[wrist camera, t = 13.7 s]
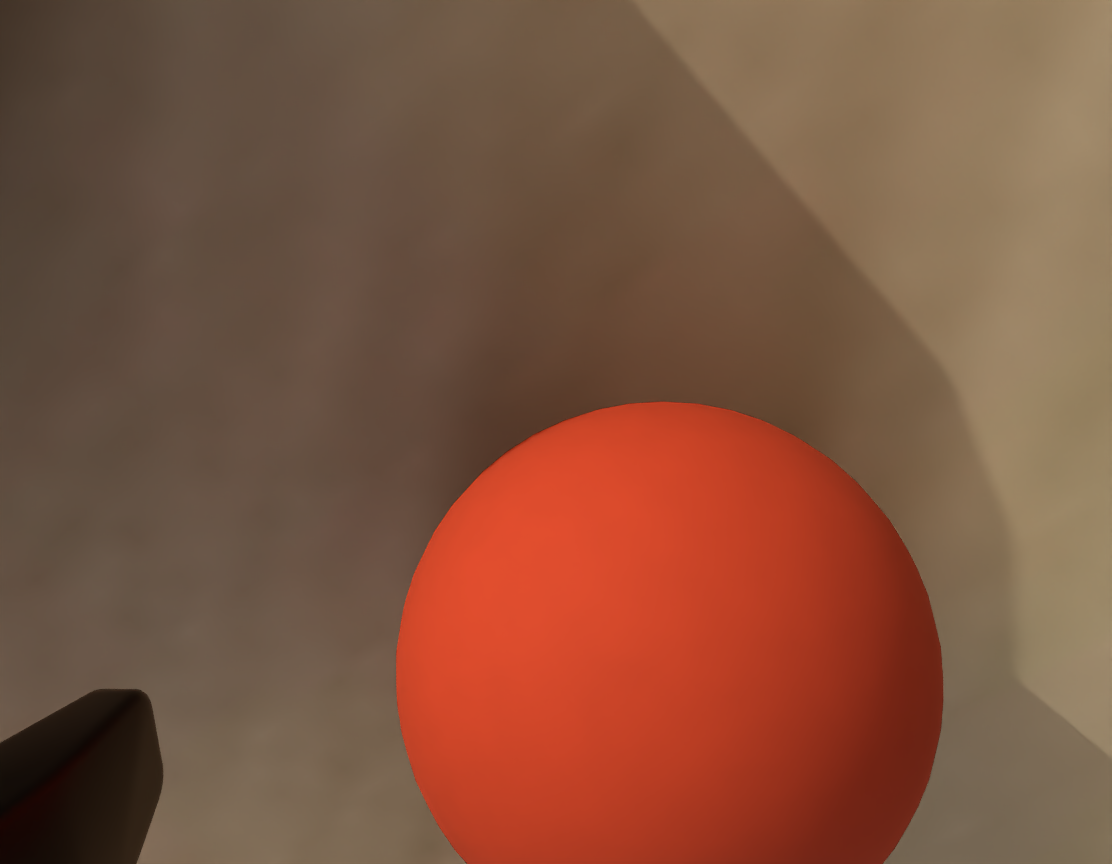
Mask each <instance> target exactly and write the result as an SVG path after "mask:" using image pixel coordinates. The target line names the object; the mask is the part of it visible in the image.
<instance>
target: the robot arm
mask: <svg viewBox="0 0 1112 864" xmlns="http://www.w3.org/2000/svg"><path fill="white" fill-rule="evenodd" d="M162 784H163V763H162V758H161V752H160V747H159V741H158V736H157V731H156V725H155V720H154V714H153V709H152V705H151V702H150V699H149V697H148V695H147V694H146V693H144V692H143V691H141V690H139V689H99V690H94V691H92V692H90V693H88V694H87V695H85V696H83V697H81V698H79V699H78V700H76V701H74V702H72V703H71V704H69V705H67V706H65V707H63V708H62V709H60V710H58V711H56V712H54V713H53V714H51V715H49V716H47V717H46V718H44V719H42V720H40V721H38V722H37V723H35V724H33V725H31V726H29V727H28V728H26V729H24V730H22V731H21V732H19V733H17V734H15V735H13V736H12V737H10V738H8V739H6V740H4V741H3V742H1V743H0V864H137V861H138V858H139V855H140V852H141V849H142V846H143V843H144V841H145V838H146V835H147V832H148V829H149V826H150V823H151V821H152V818H153V815H154V812H155V809H156V806H157V803H158V801H159V797H160V794H161V790H162Z"/></svg>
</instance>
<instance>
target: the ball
mask: <svg viewBox="0 0 1112 864" xmlns="http://www.w3.org/2000/svg"><path fill="white" fill-rule="evenodd" d="M396 687H397V705H398V712H399V718H400V725H401V731H402V736H403V739H404V743H405V747H406V750H407V754H408V757H409V760H410V764H411V767H412V770H413V773H414V776H415V780H416V782H417V784H418V786H419V788H420V790H421V793H422V795H423V797H424V799H425V801H426V803H427V805H428V807H429V809H430V811H431V813H432V814H433V816H434V818H435V820H436V822H437V824H438V826H439V827H440V829H441V830H442V832H443V833H444V835H445V836H446V838H447V839H448V841H449V842H450V844H451V845H452V847H453V848H454V850H455V851H456V852H457V853H458V854H459V855H460V856H461V857H462V859H463V860H464V861H465V862H466V863H467V864H883V863H884V861H885V860H886V859H887V858H888V856H889V855H890V854H891V852H892V851H893V850H894V849H895V847H896V845H897V844H898V842H899V840H900V839H901V837H902V835H903V833H904V832H905V830H906V828H907V827H908V825H909V823H910V821H911V819H912V817H913V815H914V813H915V812H916V810H917V808H918V806H919V803H920V801H921V798H922V796H923V793H924V791H925V789H926V786H927V784H928V781H929V778H930V774H931V770H932V766H933V762H934V758H935V753H936V749H937V745H938V740H939V736H940V731H941V723H942V711H943V670H942V657H941V646H940V642H939V638H938V633H937V629H936V625H935V621H934V617H933V613H932V609H931V605H930V601H929V597H928V594H927V591H926V589H925V587H924V584H923V582H922V579H921V577H920V575H919V572H918V570H917V568H916V565H915V563H914V561H913V559H912V558H911V556H910V554H909V552H908V550H907V548H906V546H905V545H904V543H903V541H902V540H901V538H900V537H899V535H898V533H897V532H896V530H895V528H894V527H893V525H892V524H891V522H890V520H889V519H888V518H887V517H886V515H885V514H884V513H883V512H882V511H881V509H880V508H879V507H878V506H877V505H876V504H875V502H874V501H873V500H872V499H871V498H870V496H869V495H868V494H867V493H866V492H865V491H864V490H863V489H862V488H861V486H860V485H859V484H858V483H857V482H856V481H855V480H854V479H853V478H852V477H850V476H849V475H848V474H847V473H846V472H845V471H844V470H842V469H841V468H840V467H839V466H838V465H837V464H836V463H835V462H833V461H832V460H831V459H830V458H828V457H826V456H825V455H823V454H822V453H820V452H819V451H817V450H816V449H814V448H813V447H811V446H810V445H808V444H807V443H805V442H804V441H802V440H800V439H799V438H797V437H795V436H794V435H792V434H790V433H788V432H786V431H784V430H782V429H780V428H777V427H775V426H773V425H771V424H769V423H767V422H765V421H763V420H760V419H757V418H754V417H751V416H748V415H745V414H742V413H738V412H735V411H732V410H728V409H723V408H717V407H712V406H707V405H702V404H693V403H677V402H647V403H630V404H624V405H619V406H614V407H608V408H603V409H598V410H595V411H592V412H589V413H585V414H582V415H579V416H576V417H573V418H570V419H567V420H564V421H562V422H560V423H557V424H555V425H553V426H551V427H549V428H547V429H544V430H542V431H540V432H538V433H536V434H534V435H532V436H531V437H529V438H527V439H526V440H524V441H523V442H521V443H520V444H518V445H516V446H515V447H513V448H512V449H510V450H508V451H507V452H506V453H505V454H503V455H502V456H501V457H500V458H498V459H497V460H496V461H495V462H494V463H492V464H491V465H490V466H489V467H488V468H486V469H485V470H484V471H483V472H482V473H481V474H480V475H479V476H478V477H477V478H476V480H475V481H474V482H473V483H472V484H471V485H470V486H469V487H468V488H467V489H466V490H465V492H464V493H463V494H462V495H461V496H460V497H459V498H458V499H457V500H456V501H455V503H454V504H453V505H452V506H451V508H450V509H449V511H448V512H447V514H446V515H445V516H444V518H443V519H442V521H441V522H440V524H439V525H438V527H437V528H436V530H435V531H434V533H433V535H432V537H431V539H430V541H429V544H428V546H427V548H426V550H425V552H424V554H423V556H422V558H421V560H420V562H419V564H418V566H417V568H416V571H415V573H414V575H413V579H412V582H411V585H410V588H409V591H408V594H407V597H406V601H405V604H404V609H403V615H402V620H401V626H400V632H399V639H398V645H397V651H396Z"/></svg>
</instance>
